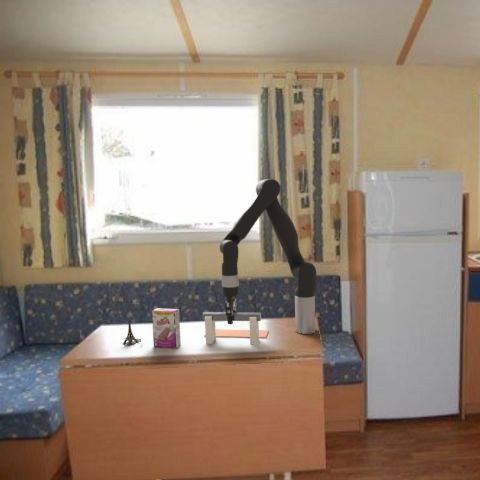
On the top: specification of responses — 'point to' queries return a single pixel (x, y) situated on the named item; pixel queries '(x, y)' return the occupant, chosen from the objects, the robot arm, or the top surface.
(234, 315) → the rail
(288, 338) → the top surface
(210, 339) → the stands
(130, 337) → the eiffel tower figurine
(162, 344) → the candy bar box
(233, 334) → the mat
